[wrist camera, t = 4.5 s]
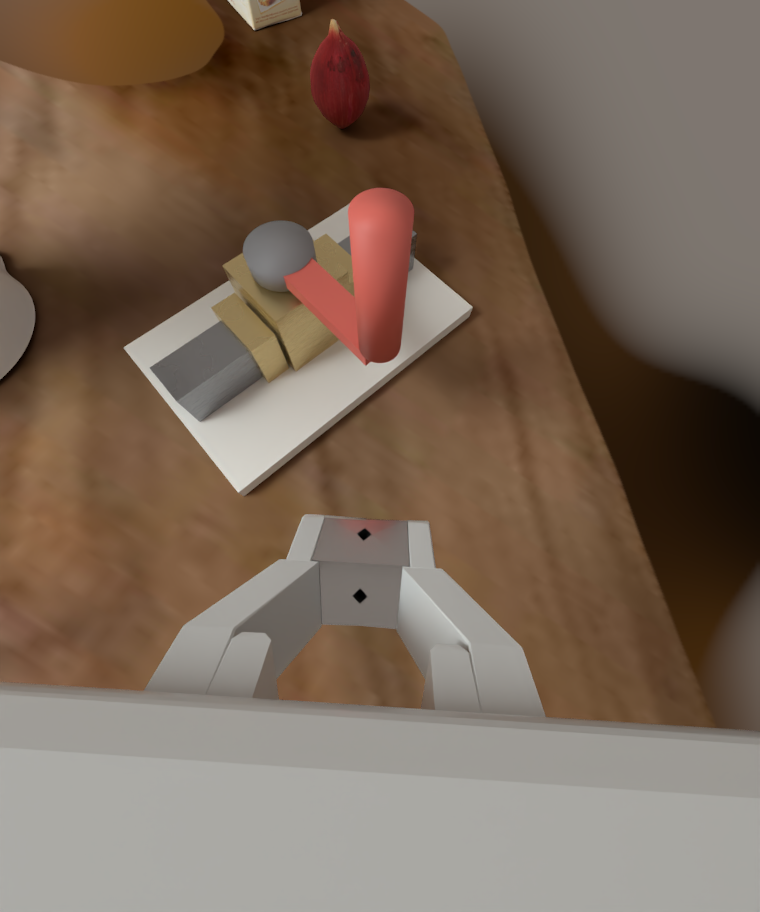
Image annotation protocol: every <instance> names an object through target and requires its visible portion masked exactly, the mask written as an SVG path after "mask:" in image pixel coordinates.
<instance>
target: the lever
mask: <svg viewBox="0 0 760 912" xmlns="http://www.w3.org/2000/svg"><path fill="white" fill-rule="evenodd" d="M348 220H349V232H350V245H351V257H352V269H353V282H354V294H355V297H354V296H352V295H351V294H350V293H349V292H348V291H347V290H346V289H345V288H344V287H343V286H342V285H341V284H340V283H338V282H337V281H336V280H335V279H334V278H333V277H332V276H331V275H330V274H329V273H328V272H327V271H326V270H324V269H323V268H322V267H321V266H320V265H319V264H318V263H317V259H316V254H315V248H314V243H313V239H312V237H311V235H310V233H309V232H308V231H307V230H306V229H305V228H304V227H302V226H301V225H299V224H297V223H294V222H290V221H272V222H268V223H265V224H263V225H260V226H259V227H257V228H255V229H254V230H253V231H252V232H251V233H250V234H249V235H248V236H247V238H246V240H245V242H244V245H243V255H244V258H245V260H246V262H247V265H248V267H249V270H250V272H251V274H252V277H253V279H254V280H255V281H256V282H257V283H258V284H259V285H260V286H262V287H263V288H265V289H268V290H271V291H277V292H286V291H290V292H291V293H292V294H293V295H294V296H295V297H297V298H298V299H299V300H300V301H301V302H302V303H303V304H304V305H305V306H306V307H307V308H308V309H309V310H310V311H311V312H312V313H313V314H314V315H315V316H316V317H317V318H318V319H319V320H320V321H321V322H322V323H323V324H324V325H325V326H326V327H327V328H328V329H329V330H330V331H331V332H332V333H333V334H334V335H335V336H336V337H337V338H338V339H339V340H340V341H341V342H342V343H343V344H344V345H345V346H346V347H347V348H348V349H349V350H350V351H351V352H352V353H353V354H354V355H355V356H356V357H357V358H358V359H359V360H360V361H361V362H362V363H363V364H364V365H365V366H366V365H367V364H369V363H370V362H374V363H386V362H389V361H391V360H393V359H394V358H395V357H396V356H397V355H398V353H399V351H400V348H401V339H402V329H403V319H404V309H405V299H406V289H407V280H408V270H409V260H410V250H411V240H412V230H413V220H414V208H413V205H412V203H411V201H410V200H409V199H408V198H407V197H406V196H405V195H404V194H402V193H400V192H398V191H396V190H393V189H388V188H373V189H369V190H366V191H363V192H361V193H360V194H358V195H357V196H356V197H355V198H354V199H353V200H352V201H351V203H350V205H349V208H348Z"/></svg>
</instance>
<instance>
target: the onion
mask: <svg viewBox="0 0 760 912" xmlns="http://www.w3.org/2000/svg"><path fill="white" fill-rule="evenodd" d="M310 79H311V92H312V96H313V99H314V102H315V104H316V105H317V107H318V108H319V110H320V111H321V113H322V114H323V116H324V117H325V118H326V119H327V120H329V121H330V122H331V123H333V124H334V125H336V126H337V127H338V128H341V129H344V128H346V127H347V126H349V125H350V124H352V123H353V122H354V121H356V120H357V119H358V118H359V117H360V116H361V114H362V113H363V111H364V108H365V106H366V103H367V101H368V97H369V90H370V83H369V75H368V71H367V68H366V64H365V61H364V59H363V56H362V54H361V52H360V50H359V49H358V47H357V46H356V44H355V43H354V42H353V41H352V40H351V39H349V38H348V37H347V36H345V35H344V34H343V32H342V30H341V29H340V27H339V25H338V23H337V21H336V20H334V19H331V23H330V28H329V35H328V36H327V37H326V38H325V39H324V40H323V42H322V43H321V44H320V46H319V48H318V50H317V52H316V54H315V56H314V58H313V61H312V64H311V71H310Z"/></svg>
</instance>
